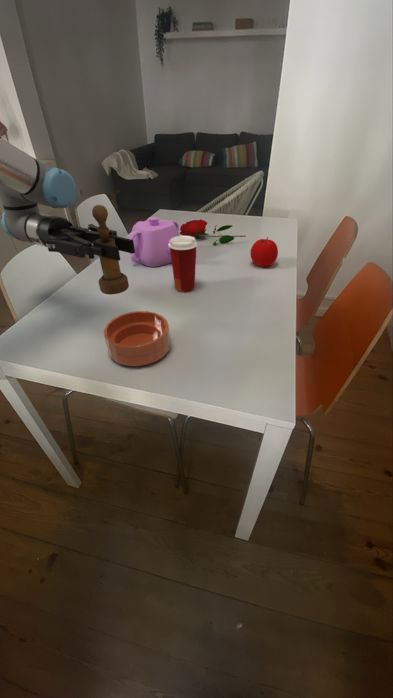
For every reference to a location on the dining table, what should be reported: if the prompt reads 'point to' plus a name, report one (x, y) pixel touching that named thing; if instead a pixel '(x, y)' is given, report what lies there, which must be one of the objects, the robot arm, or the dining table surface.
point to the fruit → (264, 252)
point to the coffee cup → (183, 262)
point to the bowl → (137, 338)
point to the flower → (198, 228)
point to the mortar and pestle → (112, 275)
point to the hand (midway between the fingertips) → (125, 250)
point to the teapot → (153, 241)
